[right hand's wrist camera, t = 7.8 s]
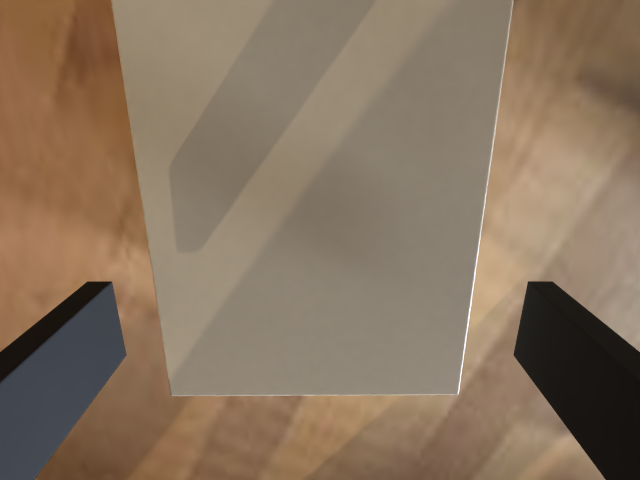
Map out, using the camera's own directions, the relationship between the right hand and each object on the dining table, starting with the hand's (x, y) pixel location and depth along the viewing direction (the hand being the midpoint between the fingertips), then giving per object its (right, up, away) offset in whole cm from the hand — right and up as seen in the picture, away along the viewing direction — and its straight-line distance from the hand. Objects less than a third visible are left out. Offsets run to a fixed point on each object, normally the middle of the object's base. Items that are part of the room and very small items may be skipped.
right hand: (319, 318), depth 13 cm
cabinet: (0, +9, +9) cm, 12 cm away
